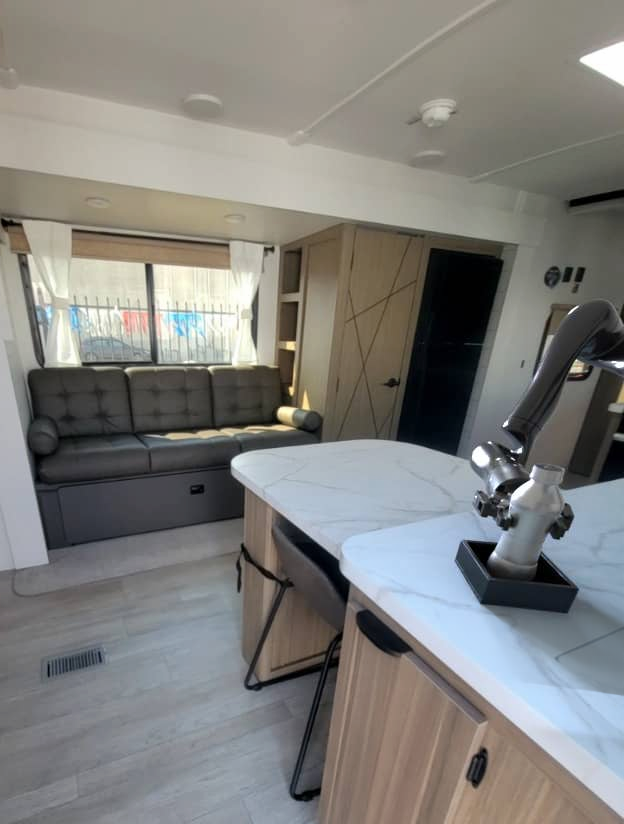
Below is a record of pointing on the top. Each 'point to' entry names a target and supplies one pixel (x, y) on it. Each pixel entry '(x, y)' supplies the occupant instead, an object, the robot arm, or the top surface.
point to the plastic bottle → (528, 524)
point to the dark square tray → (515, 581)
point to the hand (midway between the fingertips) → (532, 529)
